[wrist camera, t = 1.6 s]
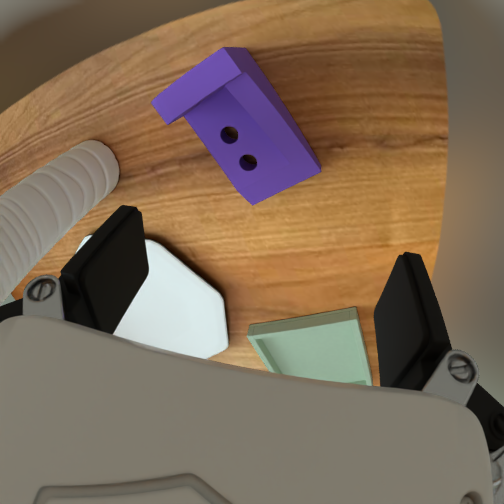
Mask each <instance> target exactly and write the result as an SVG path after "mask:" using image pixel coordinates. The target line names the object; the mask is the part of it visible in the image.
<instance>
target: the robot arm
mask: <svg viewBox="0 0 504 504" xmlns="http://www.w3.org/2000/svg"><path fill="white" fill-rule="evenodd" d="M60 272H61V276H60V277H59V278H57V277H56V276H53V275H41V276H39V277H36V278H34V279H33V280H32V281H30V282H29V283H28V284H27V286H26V287H25V289H24V293H23V298H22V299H19V300H16V301H14V302H11V303H8V304H6V305H3V306H0V504H504V407H503V406H502V405H501V404H500V403H499V402H498V401H497V400H495V399H494V398H493V397H492V396H491V395H490V394H489V393H488V392H487V391H486V390H485V389H484V388H482V387H481V386H480V385H479V384H478V383H477V382H478V378H479V369H478V366H477V363H476V362H475V360H474V359H473V358H472V357H471V356H470V355H469V354H468V353H466V352H464V351H461V350H452V347H451V344H450V340H449V336H448V333H447V330H446V326H445V323H444V320H443V316H442V313H441V310H440V307H439V304H438V301H437V298H436V296H435V293H434V290H433V287H432V284H431V281H430V279H429V276H428V273H427V270H426V268H425V265H424V262H423V260H422V257H421V255H419V254H415V253H410V252H404V254H403V255H399V256H398V258H397V260H396V262H395V265H394V267H393V270H392V272H391V274H390V277H389V279H388V281H387V283H386V286H385V288H384V290H383V292H382V294H381V297H380V299H379V301H378V303H377V305H376V307H375V310H374V324H375V332H376V341H377V351H378V361H379V373H380V387H379V386H369V385H360V384H351V383H342V382H334V381H326V380H318V379H311V378H304V377H297V376H291V375H285V374H279V373H273V372H267V371H261V370H256V369H250V368H245V367H240V366H235V365H230V364H225V363H221V362H216V361H211V360H207V359H202V358H198V357H194V356H190V355H185V354H181V353H177V352H173V351H169V350H165V349H161V348H158V347H154V346H150V345H147V344H143V343H139V342H136V341H132V340H129V339H125V338H122V337H119V336H115V335H113V333H114V332H115V330H116V328H117V326H118V325H119V323H120V321H121V320H122V318H123V316H124V314H125V313H126V311H127V309H128V308H129V306H130V304H131V303H132V301H133V299H134V298H135V296H136V294H137V293H138V291H139V289H140V288H141V286H142V285H143V283H144V281H145V280H146V278H147V276H148V274H149V264H148V257H147V250H146V243H145V236H144V228H143V219H142V213H141V212H140V211H138V209H137V207H133V206H126V205H122V206H120V207H119V208H118V209H117V210H116V211H115V212H114V213H113V214H112V215H111V216H110V217H109V218H108V219H107V220H106V221H105V222H104V223H103V224H102V226H101V227H100V228H99V229H98V230H97V231H96V232H95V233H94V234H93V235H92V236H91V237H90V238H89V239H88V240H87V242H86V243H85V244H84V245H83V246H82V247H81V248H80V249H79V250H78V251H77V253H76V254H75V255H74V256H73V257H72V258H71V259H70V261H69V262H68V263H67V264H66V265H65V266H64V267H63V269H62V270H61V271H60Z"/></svg>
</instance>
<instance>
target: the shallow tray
mask: <svg viewBox="0 0 504 504" xmlns="http://www.w3.org/2000/svg"><path fill="white" fill-rule="evenodd" d="M247 338H248V339H249V341H250V342H251V344H252V345H253V347H254V348H255V350H256V352H257V353H258V355H259V356H260V358H261V359H262V361H263V362H264V364H265V366H266V367H267V369H268V370H269V372H273V373H279V374H285V375H291V376H297V377H304V378H311V379H318V380H326V381H334V382H342V383H351V384H360V385H369V386H373V379H372V374H371V369H370V364H369V360H368V355H367V351H366V346H365V342H364V338H363V333H362V329H361V325H360V321H359V317H358V313H357V309H356V307H352V308H347V309H342V310H336V311H331V312H326V313H320V314H314V315H309V316H303V317H297V318H291V319H285V320H279V321H272V322H266V323H259V324H252V325H249V330H248V334H247Z"/></svg>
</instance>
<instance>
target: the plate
mask: <svg viewBox="0 0 504 504" xmlns="http://www.w3.org/2000/svg"><path fill="white" fill-rule="evenodd" d="M92 235H93V234H90V235H88V236H86V237H84V239H83V241H82V242H81V244H80V246H79V248H78V249H77V251H78V250H79V249H80V248H81V247H82V246H83V245H84V244H85V243H86V242H87V240H88V239H89V238H90V237H91V236H92ZM145 243H146V250H147V257H148V264H149V274H148V276H147V278H146V280H145V281H144V283H143V285H142V286H141V288H140V289H139V291H138V293H137V294H136V296H135V298H134V299H133V301H132V303H131V304H130V306H129V308H128V309H127V311H126V313H125V314H124V316H123V318H122V320H121V321H120V323H119V325H118V326H117V328H116V330H115V332H114V333H113V335H115V336H119V337H122V338H125V339H129V340H132V341H136V342H139V343H143V344H147V345H150V346H154V347H158V348H161V349H165V350H169V351H173V352H177V353H181V354H185V355H190V356H194V357H198V358H202V359H207V358H209V357H211V356H213V355H216V354H218V353H220V352H222V351H224V350H226V349H227V347H228V346H229V340H228V332H227V323H226V314H225V305H224V298H223V297H222V295H221V294H220V292H219V291H218V290H217V289H215V288H214V287H213V286H212V285H210V284H209V283H208V282H207V281H205V280H204V279H203V278H202V277H201V276H199V275H198V274H197V273H196V272H194V271H193V270H192V269H191V268H190V267H188V266H187V265H186V264H185V263H184V262H182V261H181V260H180V259H179V258H178V257H176V256H175V255H174V254H173V253H172V252H170V251H169V250H168V249H167V248H166V247H165V246H163V245H162V244H161V243H159V242H157V241H154V240H152V239H145ZM77 251H76V253H77ZM76 253H75V254H76Z"/></svg>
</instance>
